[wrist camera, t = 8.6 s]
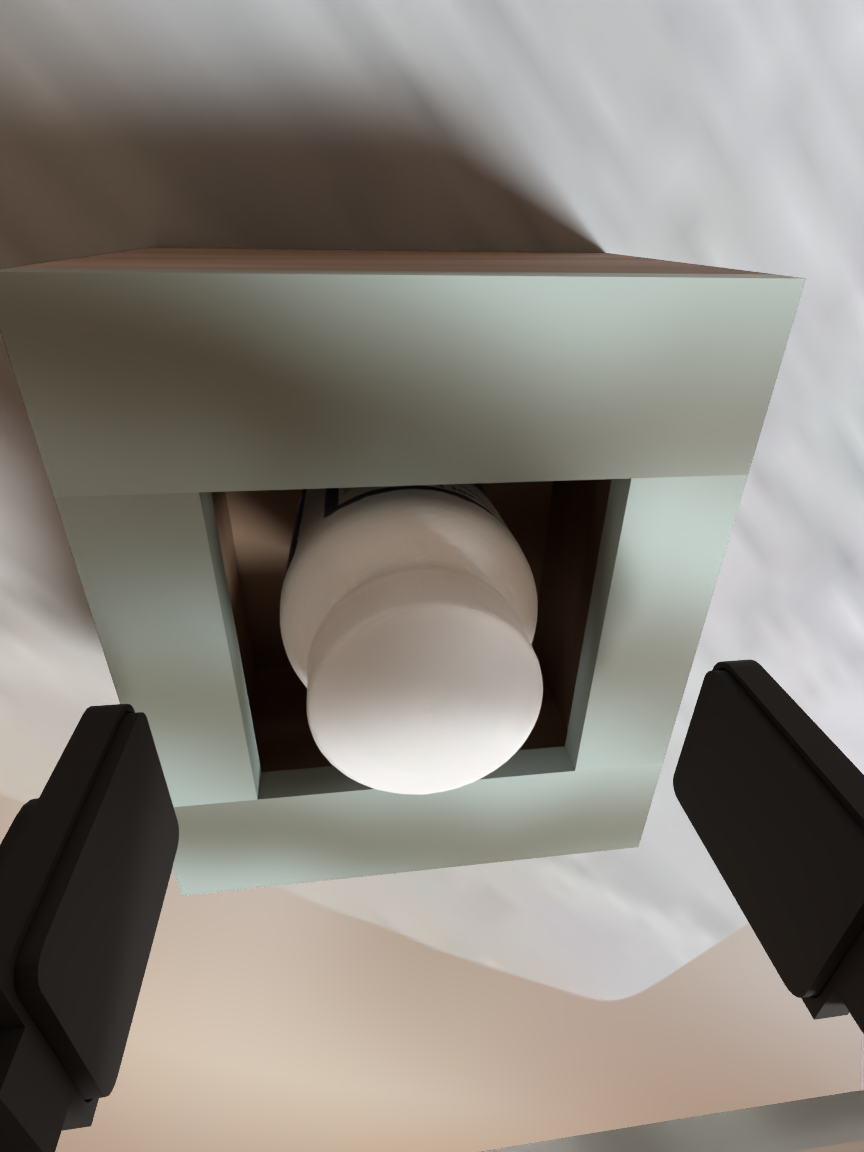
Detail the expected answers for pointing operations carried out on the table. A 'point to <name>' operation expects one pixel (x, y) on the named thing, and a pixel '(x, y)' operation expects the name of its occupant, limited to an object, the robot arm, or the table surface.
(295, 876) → the box
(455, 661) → the pill bottle
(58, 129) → the table surface
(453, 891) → the table surface
